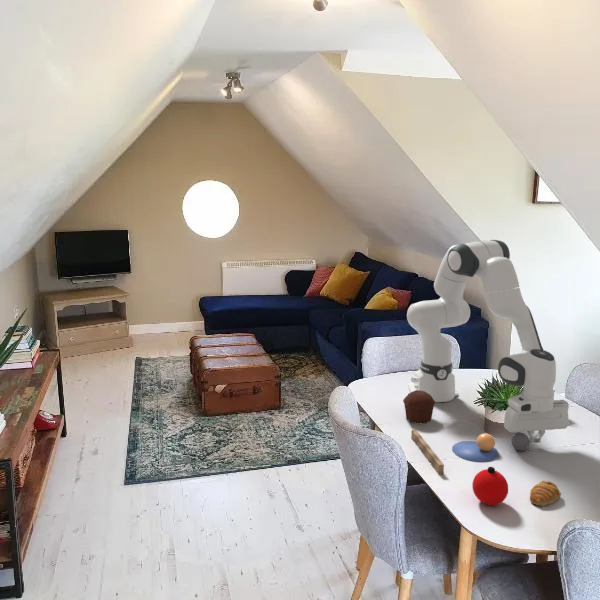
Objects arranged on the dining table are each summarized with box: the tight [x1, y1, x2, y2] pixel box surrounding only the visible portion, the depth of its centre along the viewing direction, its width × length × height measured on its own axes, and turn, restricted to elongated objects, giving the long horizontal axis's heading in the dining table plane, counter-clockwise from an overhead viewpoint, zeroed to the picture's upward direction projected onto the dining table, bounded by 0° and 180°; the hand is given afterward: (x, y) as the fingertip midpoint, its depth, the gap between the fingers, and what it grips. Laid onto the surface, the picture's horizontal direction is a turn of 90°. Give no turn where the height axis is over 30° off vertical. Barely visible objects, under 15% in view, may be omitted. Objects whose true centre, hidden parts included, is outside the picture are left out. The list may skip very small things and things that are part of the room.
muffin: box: [402, 390, 436, 425], centre depth 202 cm, size 12×11×10 cm
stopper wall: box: [410, 429, 445, 475], centre depth 175 cm, size 24×2×3 cm, turn 8°
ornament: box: [471, 466, 509, 506], centre depth 148 cm, size 9×9×10 cm
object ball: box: [476, 432, 496, 451], centre depth 178 cm, size 6×6×6 cm
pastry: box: [529, 480, 562, 507], centre depth 150 cm, size 9×7×4 cm
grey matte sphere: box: [510, 432, 531, 452], centre depth 178 cm, size 6×6×6 cm
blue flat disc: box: [451, 440, 499, 463], centre depth 178 cm, size 14×14×1 cm
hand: (534, 442), depth 180 cm, fingers closed
